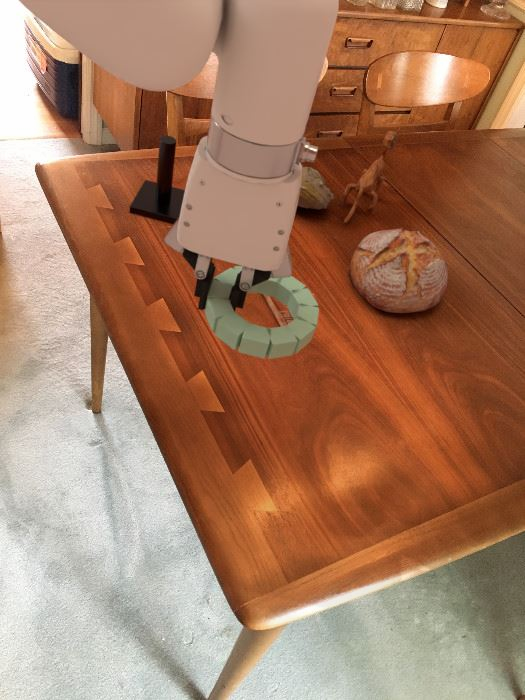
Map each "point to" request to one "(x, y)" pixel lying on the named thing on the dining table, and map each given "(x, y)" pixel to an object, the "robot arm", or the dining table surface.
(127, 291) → the dining table surface
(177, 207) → the post
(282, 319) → the key
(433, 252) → the bread
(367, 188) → the dinosaur figurine
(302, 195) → the seashell
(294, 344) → the ring
